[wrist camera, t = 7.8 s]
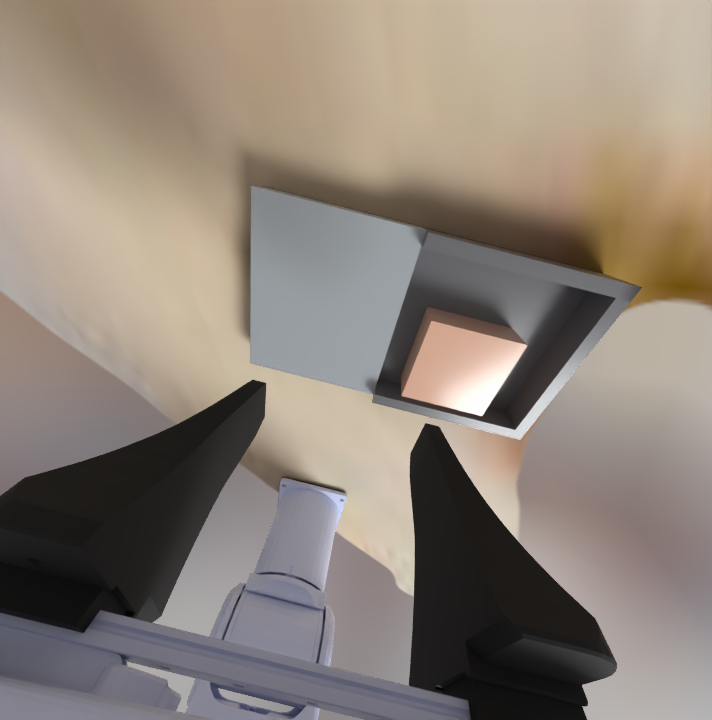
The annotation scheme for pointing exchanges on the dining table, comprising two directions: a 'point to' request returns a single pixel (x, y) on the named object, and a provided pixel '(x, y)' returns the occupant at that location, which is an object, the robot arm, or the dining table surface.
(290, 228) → the slate plate
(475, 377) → the block
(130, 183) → the dining table surface
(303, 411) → the dining table surface
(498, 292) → the box
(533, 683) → the robot arm
